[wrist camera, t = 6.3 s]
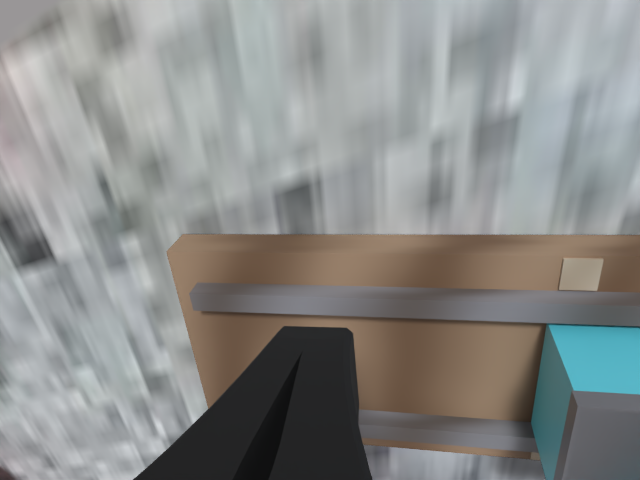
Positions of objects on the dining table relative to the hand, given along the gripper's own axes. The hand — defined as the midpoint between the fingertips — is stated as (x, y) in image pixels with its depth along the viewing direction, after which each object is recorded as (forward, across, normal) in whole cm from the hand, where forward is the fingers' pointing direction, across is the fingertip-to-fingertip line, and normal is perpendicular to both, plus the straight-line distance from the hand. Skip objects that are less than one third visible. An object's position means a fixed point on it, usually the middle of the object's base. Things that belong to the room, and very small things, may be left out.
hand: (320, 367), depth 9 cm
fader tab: (+8, -8, +7) cm, 13 cm away
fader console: (+10, -2, +7) cm, 12 cm away
